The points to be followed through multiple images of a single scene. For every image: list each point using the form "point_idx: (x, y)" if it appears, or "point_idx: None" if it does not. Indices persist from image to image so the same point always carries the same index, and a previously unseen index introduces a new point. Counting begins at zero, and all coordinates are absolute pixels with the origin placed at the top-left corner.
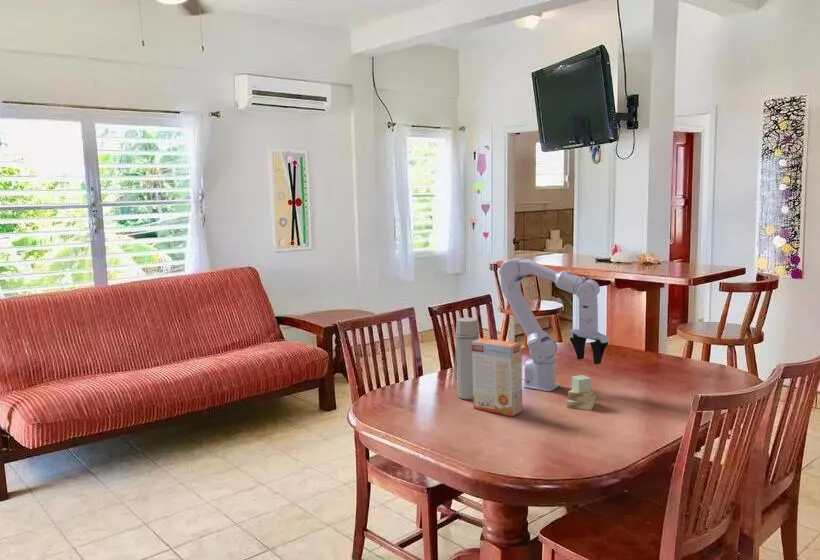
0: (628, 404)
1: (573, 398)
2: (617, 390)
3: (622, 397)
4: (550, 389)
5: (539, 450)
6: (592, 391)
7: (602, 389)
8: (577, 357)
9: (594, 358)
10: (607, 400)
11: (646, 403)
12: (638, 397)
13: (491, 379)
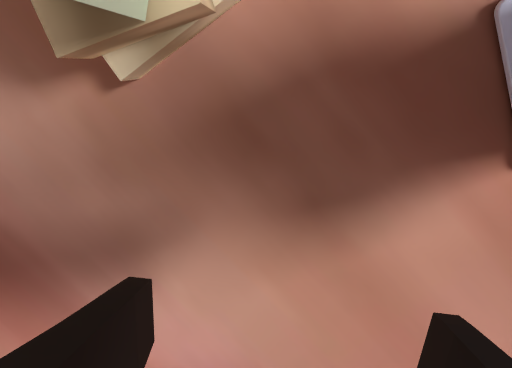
0: (41, 194)
1: None
2: (233, 320)
3: (138, 256)
4: (508, 21)
5: None
6: (34, 2)
7: (291, 287)
8: (465, 327)
9: (87, 313)
10: (139, 166)
11: (20, 262)
12: None
13: None
